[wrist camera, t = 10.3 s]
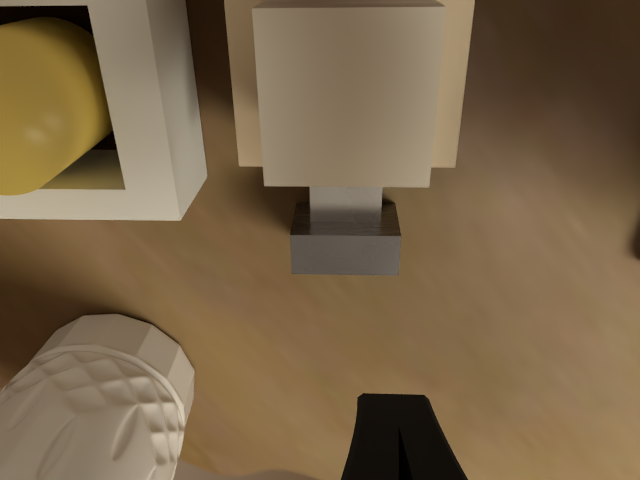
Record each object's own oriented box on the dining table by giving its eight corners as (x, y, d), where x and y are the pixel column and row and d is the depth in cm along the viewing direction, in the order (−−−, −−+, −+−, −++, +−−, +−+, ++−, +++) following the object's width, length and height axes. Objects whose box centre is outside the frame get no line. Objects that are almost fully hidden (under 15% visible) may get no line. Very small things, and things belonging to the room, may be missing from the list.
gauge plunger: (110, 16, 16) (40, 36, 12) (134, 146, 18) (81, 196, 14) (-22, 17, 16) (-127, 37, 12) (17, 146, 18) (-64, 194, 14)
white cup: (229, 334, 23) (153, 578, 14) (187, 449, 26) (106, 699, 18) (44, 275, 22) (-163, 499, 13) (27, 404, 25) (-142, 645, 17)
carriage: (463, -67, 15) (542, -77, 9) (442, 140, 18) (490, 240, 12) (236, -64, 15) (162, -70, 9) (252, 139, 18) (204, 236, 12)
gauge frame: (180, -44, 16) (139, -41, 13) (207, 176, 19) (180, 220, 16) (-80, -40, 16) (-180, -37, 13) (-8, 175, 19) (-74, 218, 16)
